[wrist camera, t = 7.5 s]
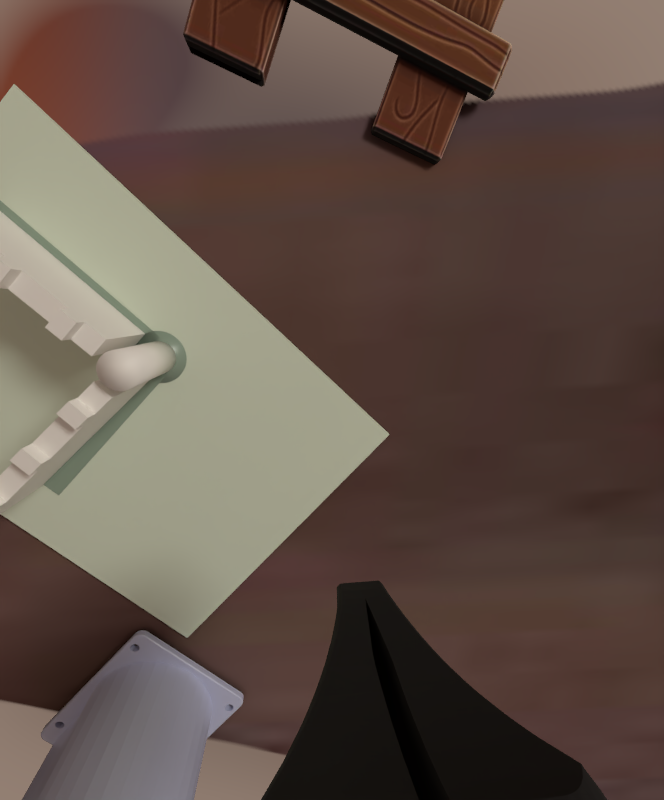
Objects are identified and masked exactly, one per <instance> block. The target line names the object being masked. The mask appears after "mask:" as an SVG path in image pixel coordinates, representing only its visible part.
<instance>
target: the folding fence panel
mask: <svg viewBox="0 0 664 800" xmlns="http://www.w3.org/2000/svg"><path fill="white" fill-rule="evenodd" d="M147 382H148V381H147ZM147 382H144V383H142V384H140V385H138V386H136V387H134V388H131V389H129V390H126V391H114V390H111V389H109V388H107V387H106V386H105V385H103V384H102V382H101V381H100V380H97V381H94V382H93V383H92V384H91V385H90V386H89V387H88V388H87V389H86V390H85V391H84V392H83V393H82V394H81V395H80V396H79V397H78V398H76V399H73V400H71V401H68V402H67V403H66V404H65V405H64V406H63V407H62V408H61V409H60V410H59V411H58V412H57V413H56V414H57V415H58V416H59V417H58V418H57V419H56V420H55V421H54V422H53V423H52V424H51V425H50V426H49V427H48V428H47V429H46V430H45V431H44V432H43V433H42V434H41V435H40V436H39V437H38V438H37V439H36V440H35V441H34V442H33V443H32V444H30V445H28V446H26V447H24V448H22V449H21V450H20V451H19V452H18V453H17V454H16V455H15V456H14V457H13V458H12V459H11V460H10V461H11V462H12V464H11V465H10V466H9V467H8V468H7V469H6V470H5V471H4V472H3V473H2V474H1V475H0V514H1V513H3V512H4V511H6V510H7V509H9V508H10V507H12V506H13V505H15V504H16V503H18V502H19V501H21V500H22V499H24V498H25V497H26V496H28V495H29V494H31V493H32V492H34V491H35V490H37V489H38V488H40V487H41V486H42V485H43V484H44V483H45V482H47V481H48V480H49V479H50V478H51V477H52V476H53V475H54V474H55V473H56V472H57V471H58V470H59V469H60V468H61V467H62V466H63V465H64V464H65V463H66V462H67V461H68V460H69V459H70V458H71V457H72V456H73V455H74V454H75V453H76V452H77V451H78V450H79V449H80V448H81V447H82V446H83V445H84V444H85V443H86V442H87V441H88V440H89V439H90V438H91V437H92V436H93V435H94V434H95V433H96V432H97V431H98V430H99V429H100V428H101V427H102V426H103V425H104V424H105V423H106V422H107V421H108V420H109V419H110V418H112V417H113V416H114V415H115V414H116V413H117V412H118V411H119V410H120V409H121V408H122V407H123V406H124V405H125V404H126V403H127V402H128V401H129V400H130V399H131V398H132V397H133V396H134V395H135V394H136V393H137V392H138V391H139V390H140V389H141V388H142V387H143V386H144V385H145V384H146V383H147Z"/></svg>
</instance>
